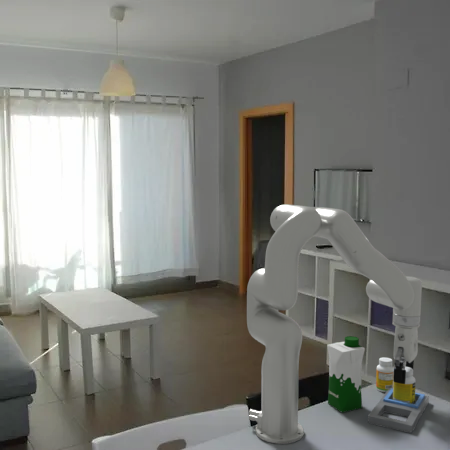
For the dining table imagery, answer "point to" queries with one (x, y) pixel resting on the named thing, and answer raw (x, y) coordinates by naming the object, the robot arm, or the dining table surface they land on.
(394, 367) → the robot arm
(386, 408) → the organizer board
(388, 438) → the dining table surface
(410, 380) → the pill bottle
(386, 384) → the supplement bottle
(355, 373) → the milk carton
